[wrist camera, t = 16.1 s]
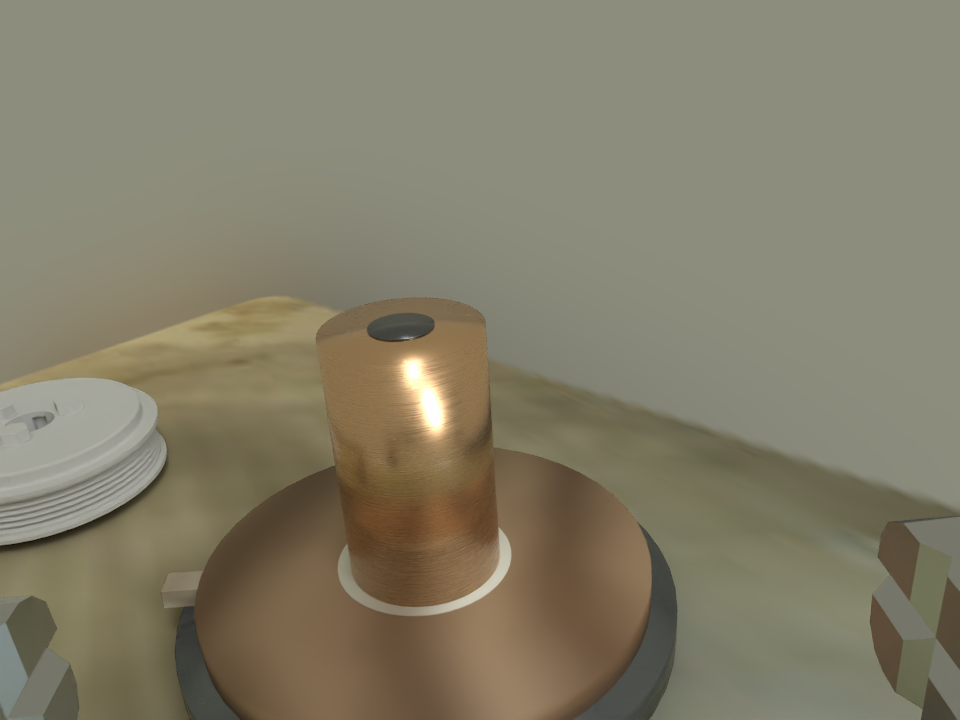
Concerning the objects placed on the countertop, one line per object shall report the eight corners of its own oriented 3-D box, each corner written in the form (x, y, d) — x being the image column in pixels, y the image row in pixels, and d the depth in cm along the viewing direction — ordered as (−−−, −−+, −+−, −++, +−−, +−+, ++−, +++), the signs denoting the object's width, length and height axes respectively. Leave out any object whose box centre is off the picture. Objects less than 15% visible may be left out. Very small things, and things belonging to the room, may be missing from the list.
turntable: (605, 457, 44) (605, 431, 43) (708, 745, 28) (710, 710, 27) (220, 486, 44) (214, 461, 43) (91, 797, 27) (80, 763, 27)
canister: (495, 508, 38) (481, 290, 34) (504, 600, 32) (489, 354, 28) (357, 518, 38) (326, 301, 33) (343, 613, 32) (303, 367, 28)
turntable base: (621, 472, 46) (621, 447, 45) (746, 804, 27) (750, 771, 27) (239, 501, 45) (234, 477, 45) (109, 860, 27) (97, 827, 26)
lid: (-24, 447, 53) (-49, 373, 51) (188, 424, 54) (171, 350, 52) (-129, 578, 42) (-167, 489, 39) (143, 544, 43) (120, 457, 41)
